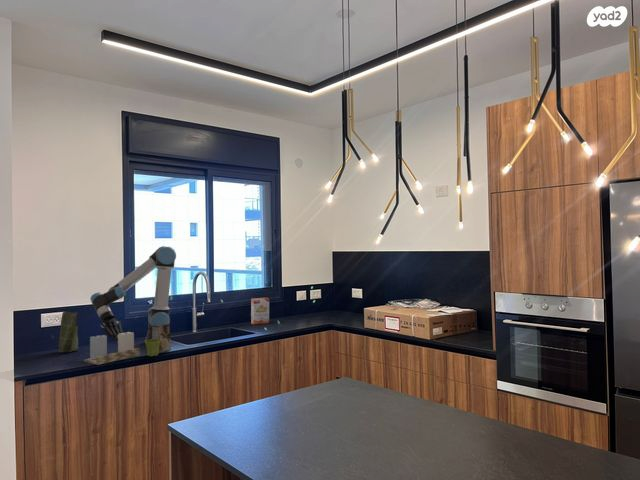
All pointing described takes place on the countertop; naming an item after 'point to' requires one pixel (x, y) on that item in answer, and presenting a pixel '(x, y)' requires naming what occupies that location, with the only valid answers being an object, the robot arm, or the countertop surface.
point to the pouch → (68, 333)
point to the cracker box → (259, 310)
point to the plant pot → (152, 346)
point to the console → (114, 356)
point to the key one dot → (125, 341)
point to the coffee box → (162, 336)
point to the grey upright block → (98, 346)
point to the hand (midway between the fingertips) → (121, 345)
